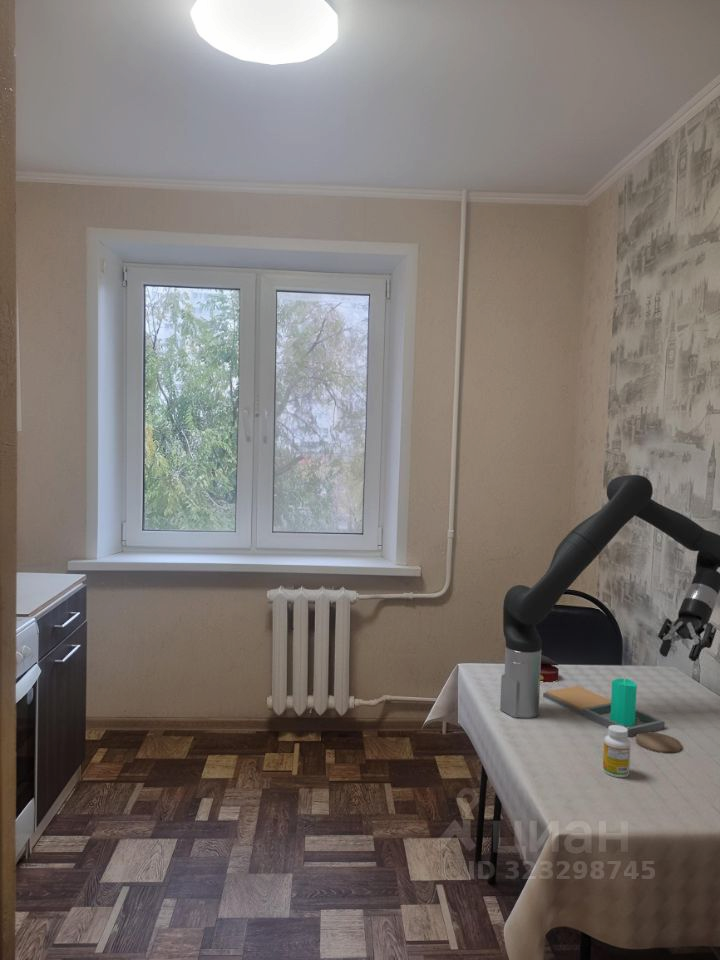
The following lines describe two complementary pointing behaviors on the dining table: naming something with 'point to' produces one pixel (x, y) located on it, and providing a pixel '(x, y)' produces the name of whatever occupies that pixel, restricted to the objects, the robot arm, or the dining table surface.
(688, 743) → the dining table surface
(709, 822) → the dining table surface
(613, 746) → the supplement bottle
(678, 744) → the coaster
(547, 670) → the canned food
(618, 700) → the candle
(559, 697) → the case
